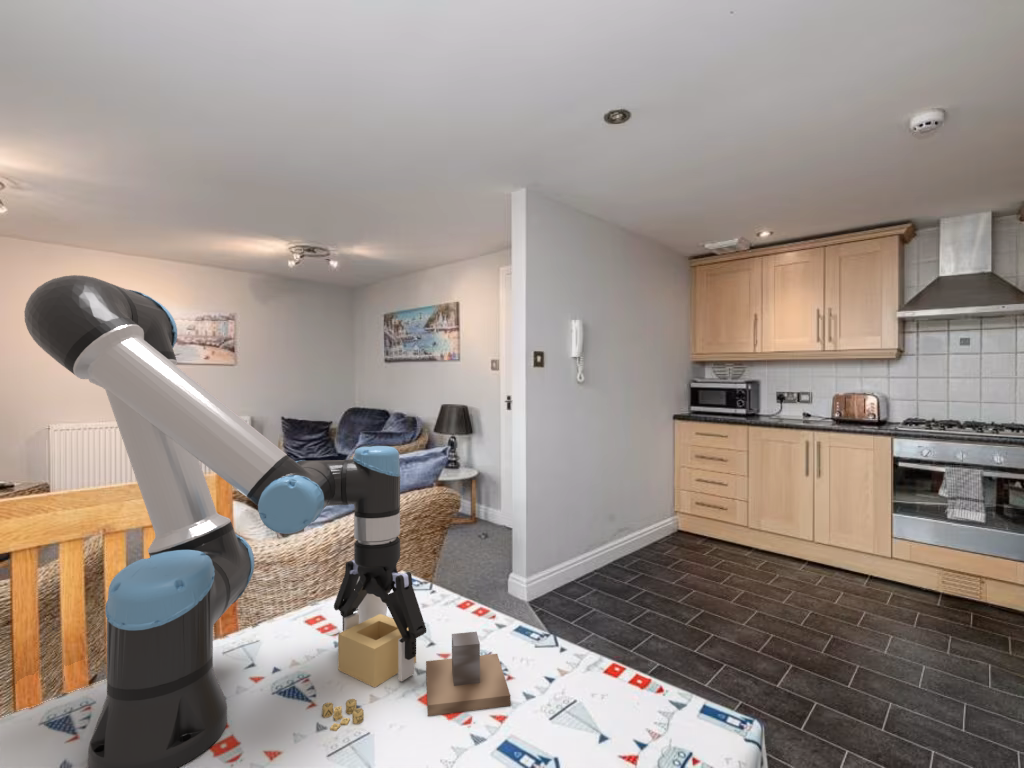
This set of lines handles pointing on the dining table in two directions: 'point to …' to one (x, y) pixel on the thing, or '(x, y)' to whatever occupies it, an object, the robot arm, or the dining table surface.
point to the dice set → (350, 709)
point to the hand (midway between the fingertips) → (377, 664)
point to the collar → (370, 650)
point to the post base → (468, 692)
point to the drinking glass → (371, 607)
